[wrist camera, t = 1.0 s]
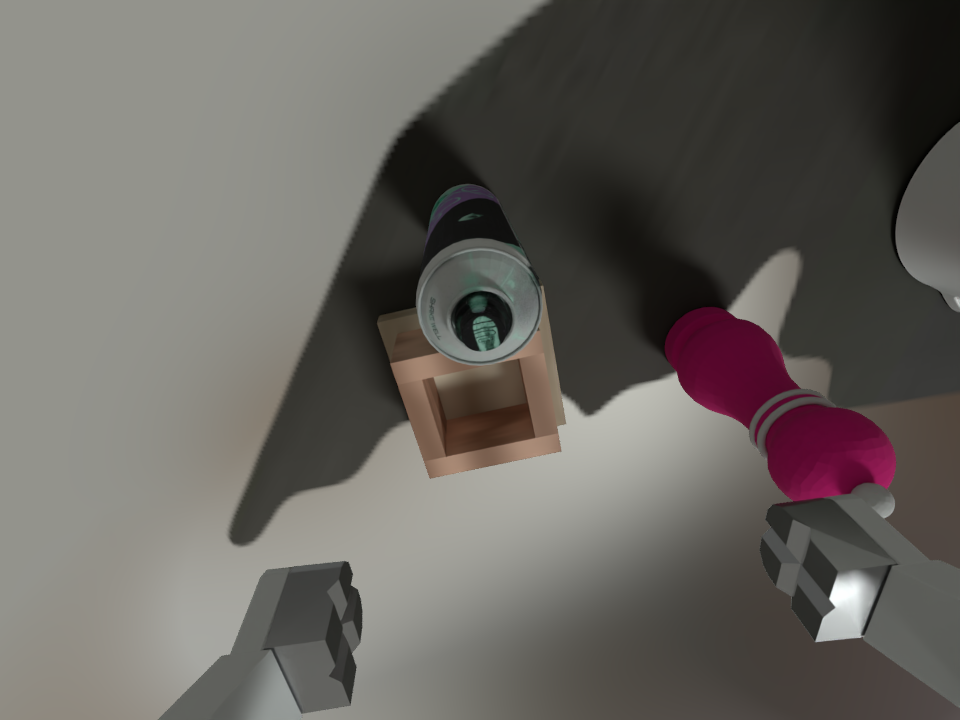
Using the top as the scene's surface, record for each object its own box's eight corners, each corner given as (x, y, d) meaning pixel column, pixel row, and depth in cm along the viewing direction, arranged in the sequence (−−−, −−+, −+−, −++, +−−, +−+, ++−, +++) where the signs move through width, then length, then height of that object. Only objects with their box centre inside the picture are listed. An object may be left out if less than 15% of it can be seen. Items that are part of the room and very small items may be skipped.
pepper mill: (659, 384, 44) (802, 576, 26) (656, 310, 40) (819, 470, 22) (741, 369, 43) (943, 551, 25) (745, 292, 40) (982, 440, 22)
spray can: (467, 166, 34) (485, 229, 17) (520, 222, 36) (585, 333, 19) (414, 222, 36) (379, 334, 18) (467, 273, 38) (482, 420, 20)
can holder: (539, 279, 38) (555, 309, 33) (562, 414, 44) (579, 460, 39) (379, 315, 39) (366, 351, 33) (422, 444, 45) (418, 493, 39)
